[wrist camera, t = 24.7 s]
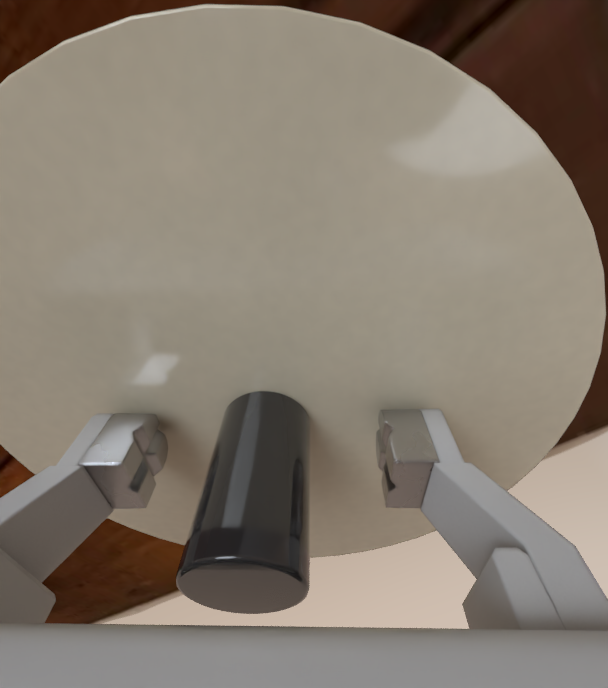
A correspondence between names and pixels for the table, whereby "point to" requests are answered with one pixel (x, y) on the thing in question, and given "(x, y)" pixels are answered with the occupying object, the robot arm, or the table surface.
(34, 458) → the lid
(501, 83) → the table surface
